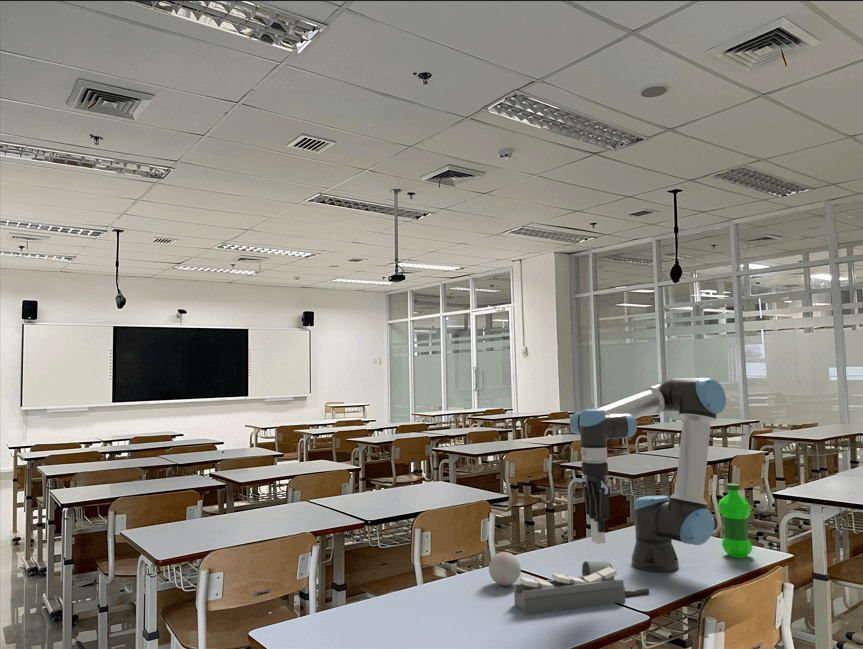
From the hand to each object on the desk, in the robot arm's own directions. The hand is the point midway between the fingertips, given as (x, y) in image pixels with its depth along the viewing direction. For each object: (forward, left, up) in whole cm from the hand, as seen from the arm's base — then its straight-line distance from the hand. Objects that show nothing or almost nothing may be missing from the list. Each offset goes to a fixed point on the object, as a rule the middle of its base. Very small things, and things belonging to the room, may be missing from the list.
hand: (598, 541), depth 186 cm
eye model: (+22, -21, -17) cm, 35 cm away
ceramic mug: (-5, -12, -17) cm, 21 cm away
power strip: (+5, 0, -16) cm, 17 cm away
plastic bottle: (-66, -23, -17) cm, 72 cm away
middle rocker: (+10, 0, -10) cm, 14 cm away
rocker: (0, 0, -10) cm, 10 cm away
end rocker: (+20, 0, -10) cm, 22 cm away
